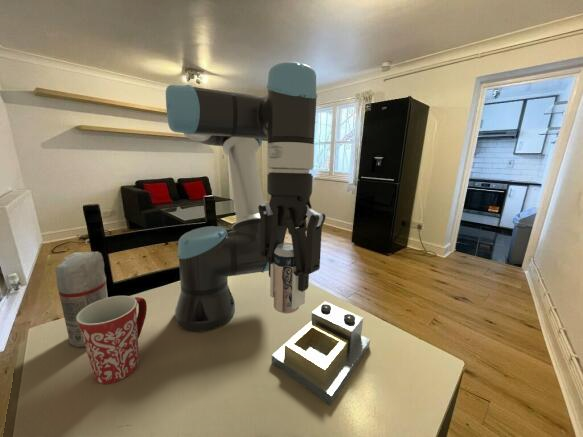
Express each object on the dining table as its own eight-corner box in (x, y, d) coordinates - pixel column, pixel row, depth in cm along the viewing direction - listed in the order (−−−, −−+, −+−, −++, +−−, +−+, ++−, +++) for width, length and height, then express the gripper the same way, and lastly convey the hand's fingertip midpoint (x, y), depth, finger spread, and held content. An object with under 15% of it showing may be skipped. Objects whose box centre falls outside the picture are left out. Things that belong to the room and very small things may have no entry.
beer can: (289, 318, 42) (290, 253, 40) (268, 309, 45) (268, 247, 43) (304, 306, 46) (306, 245, 44) (284, 298, 49) (285, 240, 46)
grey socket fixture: (271, 363, 51) (272, 330, 49) (317, 321, 65) (319, 295, 63) (330, 405, 43) (334, 367, 41) (369, 347, 57) (373, 317, 55)
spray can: (118, 336, 57) (106, 255, 53) (71, 355, 51) (54, 266, 47) (109, 319, 63) (98, 245, 58) (66, 335, 57) (50, 254, 52)
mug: (115, 394, 43) (105, 328, 40) (75, 383, 45) (62, 318, 42) (166, 344, 55) (161, 290, 52) (132, 336, 57) (125, 284, 54)
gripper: (239, 169, 44) (241, 289, 48) (321, 173, 32) (313, 331, 37) (270, 170, 49) (269, 278, 54) (349, 173, 37) (339, 310, 42)
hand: (287, 299), depth 45 cm, fingers closed on beer can, 5 cm apart
